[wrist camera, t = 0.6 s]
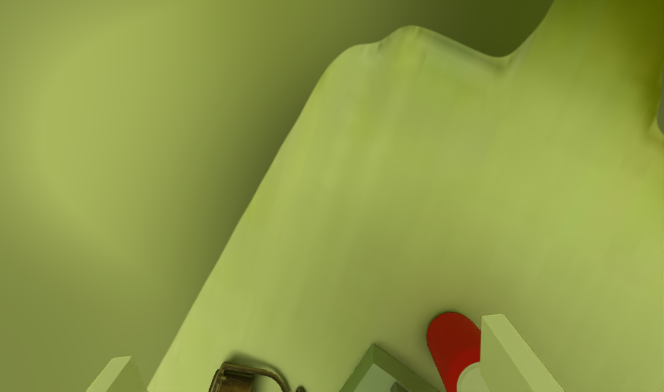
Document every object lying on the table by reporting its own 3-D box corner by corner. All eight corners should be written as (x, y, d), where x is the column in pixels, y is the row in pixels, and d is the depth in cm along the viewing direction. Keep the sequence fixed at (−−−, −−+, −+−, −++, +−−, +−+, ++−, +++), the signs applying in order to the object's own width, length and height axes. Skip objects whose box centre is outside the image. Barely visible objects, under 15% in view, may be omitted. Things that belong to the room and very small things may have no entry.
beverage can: (476, 311, 38) (525, 358, 26) (476, 363, 38) (525, 434, 26) (425, 307, 39) (449, 351, 27) (424, 358, 38) (448, 425, 26)
